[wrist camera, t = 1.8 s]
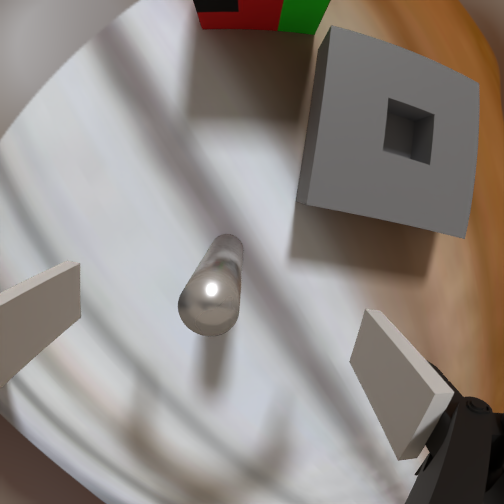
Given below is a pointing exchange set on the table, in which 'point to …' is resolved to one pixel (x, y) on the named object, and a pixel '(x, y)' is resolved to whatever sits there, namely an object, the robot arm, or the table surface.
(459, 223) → the socket block
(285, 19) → the puzzle toy
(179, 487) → the table surface
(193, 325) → the pin
